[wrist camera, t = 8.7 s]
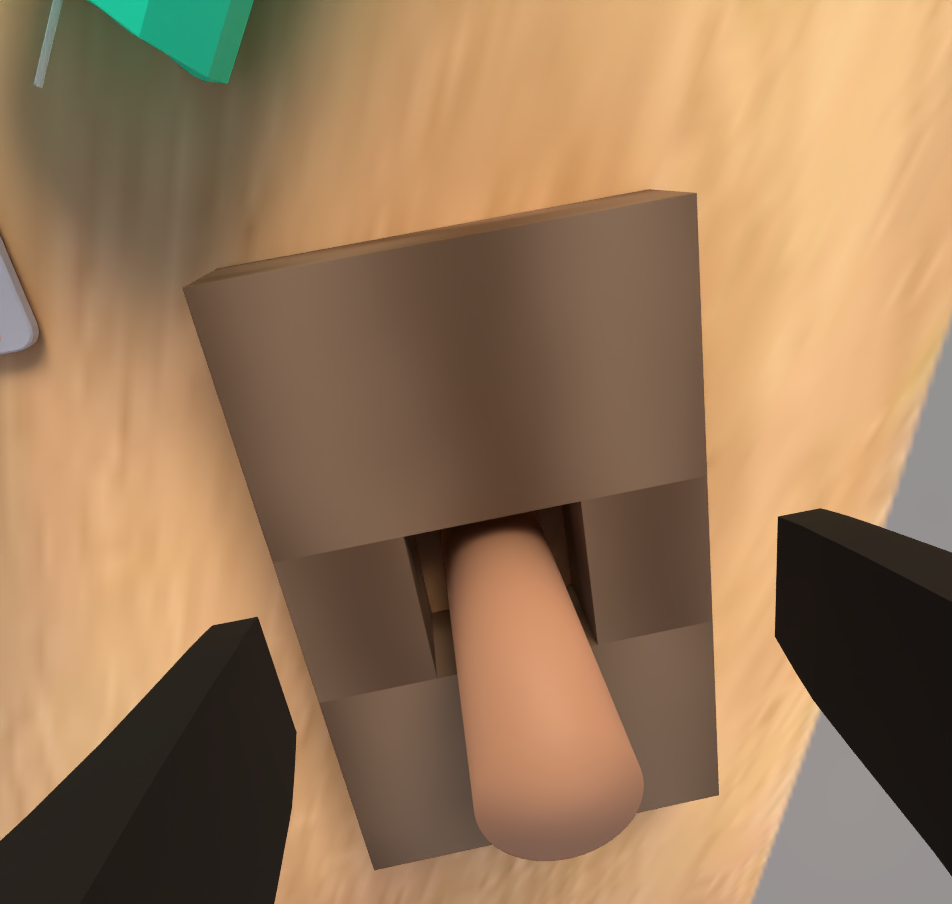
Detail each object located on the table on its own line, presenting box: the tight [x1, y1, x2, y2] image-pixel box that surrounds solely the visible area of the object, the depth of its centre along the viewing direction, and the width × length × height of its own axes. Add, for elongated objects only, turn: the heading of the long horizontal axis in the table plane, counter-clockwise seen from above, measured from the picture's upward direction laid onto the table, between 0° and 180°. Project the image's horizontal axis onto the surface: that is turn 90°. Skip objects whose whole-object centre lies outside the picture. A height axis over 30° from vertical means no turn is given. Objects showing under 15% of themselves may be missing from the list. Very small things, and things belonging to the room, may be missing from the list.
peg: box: [441, 511, 644, 861], centre depth 16 cm, size 3×3×10 cm
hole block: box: [183, 190, 719, 870], centre depth 19 cm, size 11×18×3 cm, turn 10°
